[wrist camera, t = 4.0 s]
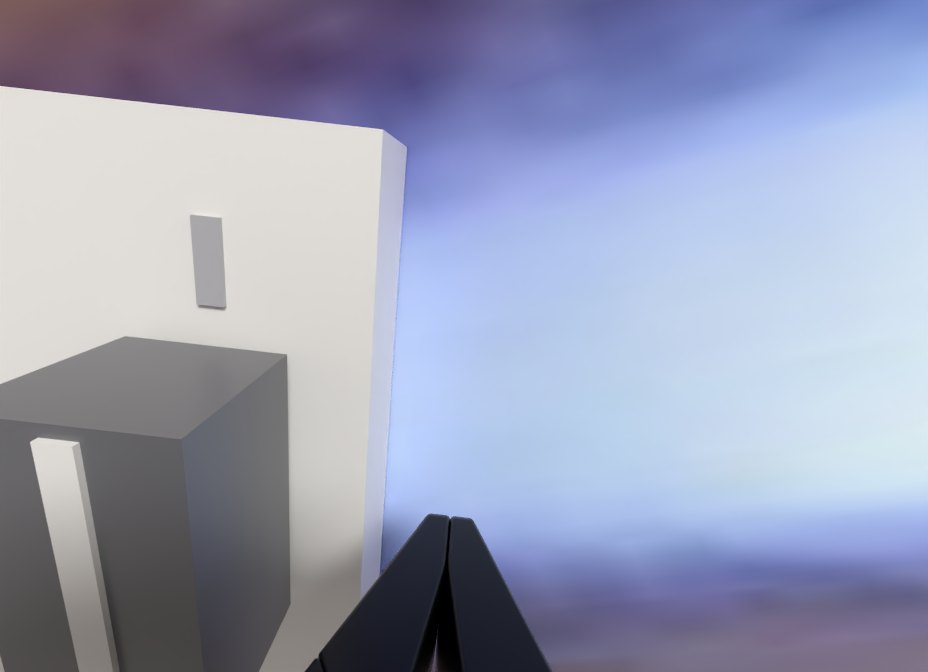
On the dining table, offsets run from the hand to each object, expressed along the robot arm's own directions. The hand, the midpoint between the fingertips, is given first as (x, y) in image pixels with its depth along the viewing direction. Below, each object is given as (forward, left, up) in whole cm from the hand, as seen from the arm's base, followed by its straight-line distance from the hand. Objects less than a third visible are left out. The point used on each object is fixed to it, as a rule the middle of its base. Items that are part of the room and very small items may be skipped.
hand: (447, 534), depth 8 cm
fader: (+5, 0, -1) cm, 5 cm away
